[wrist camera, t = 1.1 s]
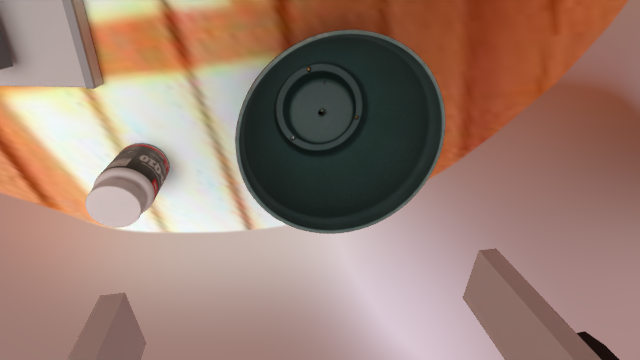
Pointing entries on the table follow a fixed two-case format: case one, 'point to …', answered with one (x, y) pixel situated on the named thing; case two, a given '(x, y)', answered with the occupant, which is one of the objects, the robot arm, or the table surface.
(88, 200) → the pill bottle
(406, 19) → the table surface
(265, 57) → the table surface
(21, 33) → the tuner board
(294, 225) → the flower pot
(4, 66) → the tuner knob
